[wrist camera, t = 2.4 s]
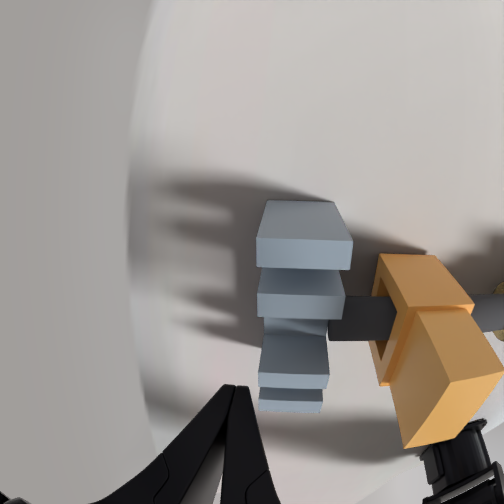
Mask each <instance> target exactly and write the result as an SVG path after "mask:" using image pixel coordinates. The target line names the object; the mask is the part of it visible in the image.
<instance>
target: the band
mask: <svg viewBox="0 0 504 504" xmlns="http://www.w3.org/2000/svg"><path fill="white" fill-rule="evenodd" d="M503 293H504V282H502V283H500V284H499V285H498V286H497V288H496V289H495V291H494V293H493V294H503ZM493 333H494V334H495V336H496V337H497V338H498V339H499V340H501V341H504V330H497V331H493Z"/></svg>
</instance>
